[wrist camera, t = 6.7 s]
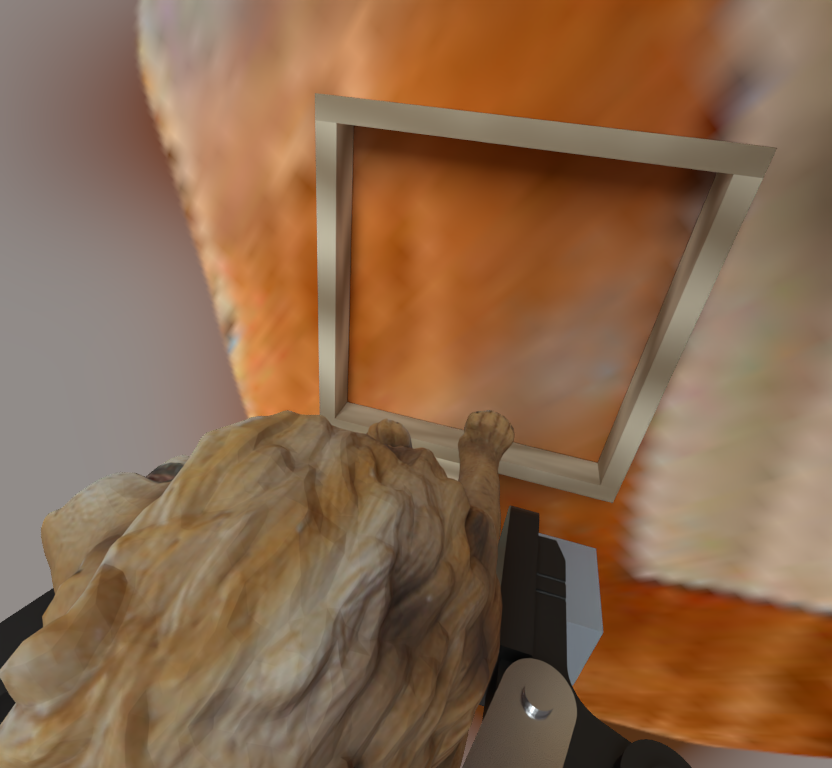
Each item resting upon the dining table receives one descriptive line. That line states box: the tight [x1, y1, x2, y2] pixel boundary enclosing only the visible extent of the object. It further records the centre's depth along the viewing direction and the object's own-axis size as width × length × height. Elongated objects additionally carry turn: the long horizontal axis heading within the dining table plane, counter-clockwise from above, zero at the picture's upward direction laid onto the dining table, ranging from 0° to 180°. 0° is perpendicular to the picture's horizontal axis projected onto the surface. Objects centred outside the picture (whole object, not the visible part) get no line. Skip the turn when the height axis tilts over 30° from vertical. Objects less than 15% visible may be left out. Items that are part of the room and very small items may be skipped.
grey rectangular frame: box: [315, 93, 777, 503], centre depth 25 cm, size 26×18×4 cm
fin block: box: [539, 533, 603, 685], centre depth 30 cm, size 6×4×6 cm, turn 174°
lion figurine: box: [0, 410, 514, 768], centre depth 10 cm, size 15×5×9 cm, turn 10°
